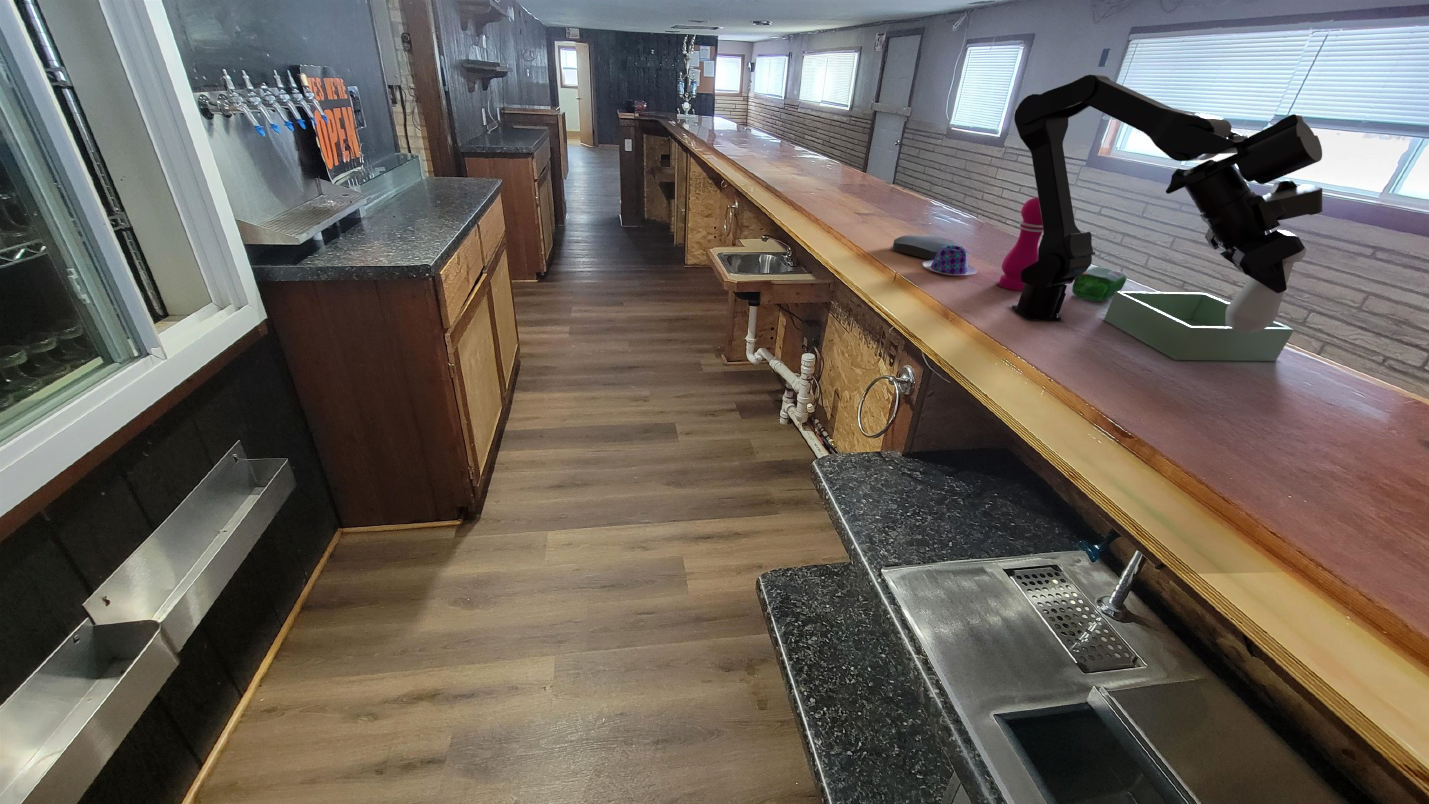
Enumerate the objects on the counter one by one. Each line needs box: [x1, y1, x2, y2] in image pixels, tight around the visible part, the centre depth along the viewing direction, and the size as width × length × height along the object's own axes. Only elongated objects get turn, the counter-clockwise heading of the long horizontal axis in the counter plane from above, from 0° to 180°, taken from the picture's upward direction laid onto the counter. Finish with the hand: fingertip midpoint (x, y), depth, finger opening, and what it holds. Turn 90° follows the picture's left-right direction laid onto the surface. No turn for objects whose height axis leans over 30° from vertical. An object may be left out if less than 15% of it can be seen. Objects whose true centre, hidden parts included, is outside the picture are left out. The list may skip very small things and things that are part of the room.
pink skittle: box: [998, 196, 1043, 292], centre depth 117 cm, size 7×7×20 cm
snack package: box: [1071, 266, 1128, 303], centre depth 118 cm, size 7×16×5 cm, turn 131°
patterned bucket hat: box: [922, 245, 978, 277], centre depth 130 cm, size 12×12×5 cm
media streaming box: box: [892, 234, 964, 260], centre depth 144 cm, size 15×15×3 cm
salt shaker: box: [1225, 245, 1308, 333], centre depth 83 cm, size 6×6×13 cm
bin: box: [1103, 290, 1295, 362], centre depth 98 cm, size 18×18×6 cm
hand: (1277, 288), depth 82 cm, fingers closed on salt shaker, 3 cm apart
